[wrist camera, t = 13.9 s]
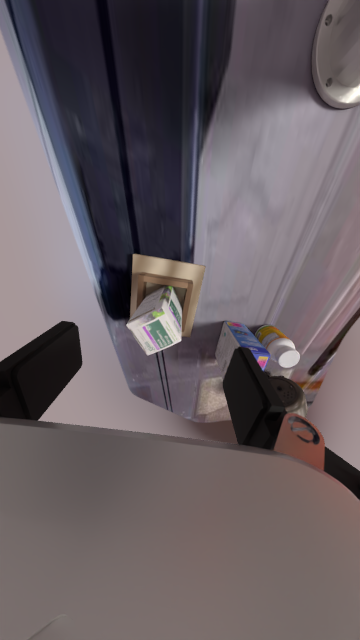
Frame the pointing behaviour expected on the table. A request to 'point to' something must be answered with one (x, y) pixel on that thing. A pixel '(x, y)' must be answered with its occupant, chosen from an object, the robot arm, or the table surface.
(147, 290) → the desk stand
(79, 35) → the table surface
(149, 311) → the syrup box
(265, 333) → the supplement bottle
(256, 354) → the ink cartridge box
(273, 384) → the alarm clock
